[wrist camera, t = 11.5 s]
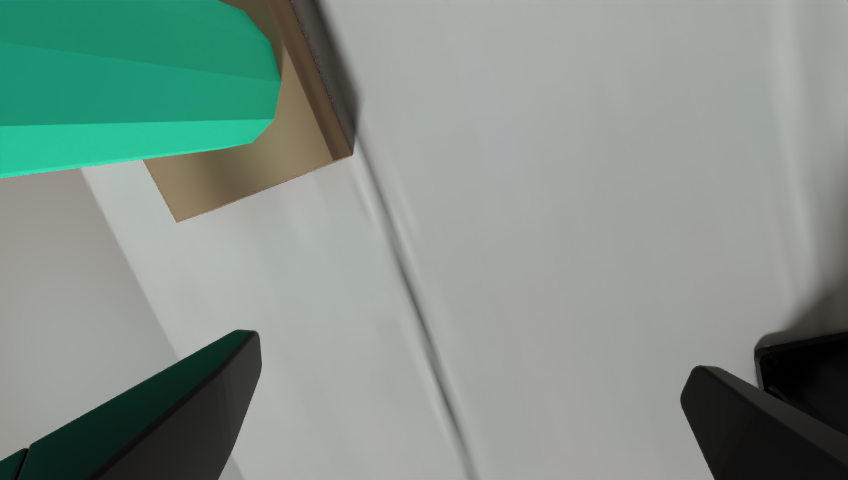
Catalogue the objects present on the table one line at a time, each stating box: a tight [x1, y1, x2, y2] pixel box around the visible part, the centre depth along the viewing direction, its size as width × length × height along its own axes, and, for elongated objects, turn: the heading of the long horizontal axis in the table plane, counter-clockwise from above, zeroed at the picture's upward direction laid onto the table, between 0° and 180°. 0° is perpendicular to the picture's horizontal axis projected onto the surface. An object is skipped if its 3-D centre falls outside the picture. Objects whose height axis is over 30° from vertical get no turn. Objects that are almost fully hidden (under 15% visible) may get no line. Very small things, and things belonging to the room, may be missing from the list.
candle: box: [0, 0, 281, 178], centre depth 11 cm, size 6×6×12 cm
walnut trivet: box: [143, 0, 352, 222], centre depth 18 cm, size 9×9×2 cm
